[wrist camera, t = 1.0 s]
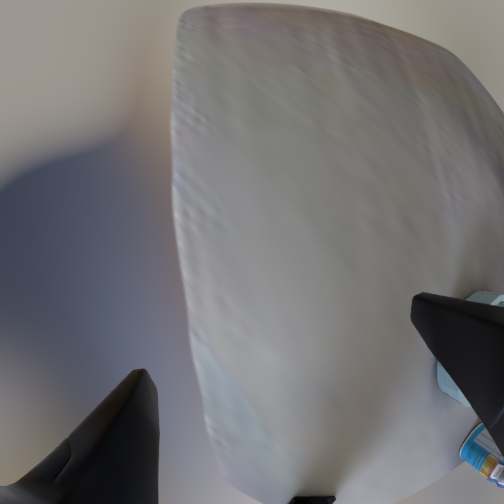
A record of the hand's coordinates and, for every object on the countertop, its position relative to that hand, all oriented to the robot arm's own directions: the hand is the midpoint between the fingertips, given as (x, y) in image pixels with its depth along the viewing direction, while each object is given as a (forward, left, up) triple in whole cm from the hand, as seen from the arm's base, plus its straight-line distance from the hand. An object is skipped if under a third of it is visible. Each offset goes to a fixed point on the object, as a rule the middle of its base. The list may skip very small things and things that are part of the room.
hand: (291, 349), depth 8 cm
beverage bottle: (-16, -49, -16) cm, 54 cm away
